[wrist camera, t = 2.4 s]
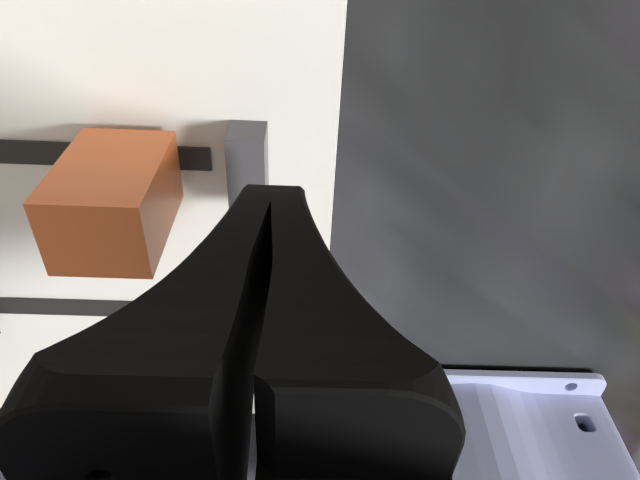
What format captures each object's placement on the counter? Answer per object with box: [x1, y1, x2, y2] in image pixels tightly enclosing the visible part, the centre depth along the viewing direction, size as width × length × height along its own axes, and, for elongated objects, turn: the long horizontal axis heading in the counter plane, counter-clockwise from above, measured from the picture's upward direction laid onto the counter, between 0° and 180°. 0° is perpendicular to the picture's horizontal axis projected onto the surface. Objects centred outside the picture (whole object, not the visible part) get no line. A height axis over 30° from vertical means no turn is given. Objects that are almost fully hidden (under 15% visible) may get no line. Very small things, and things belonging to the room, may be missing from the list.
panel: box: [0, 0, 347, 414], centre depth 17 cm, size 19×18×2 cm
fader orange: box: [23, 128, 184, 279], centre depth 13 cm, size 2×2×4 cm
